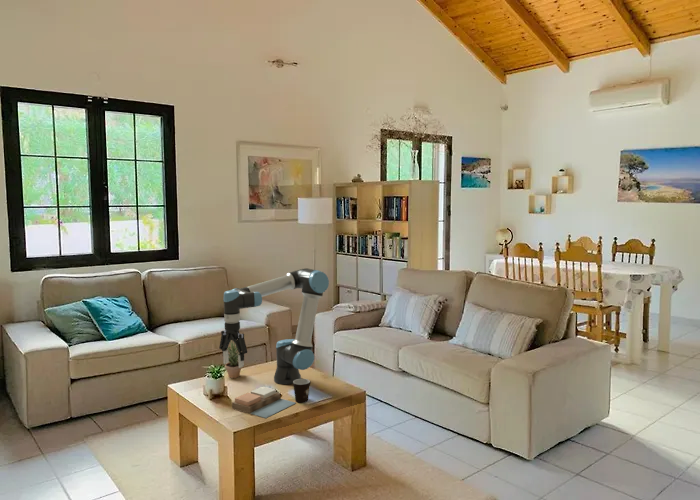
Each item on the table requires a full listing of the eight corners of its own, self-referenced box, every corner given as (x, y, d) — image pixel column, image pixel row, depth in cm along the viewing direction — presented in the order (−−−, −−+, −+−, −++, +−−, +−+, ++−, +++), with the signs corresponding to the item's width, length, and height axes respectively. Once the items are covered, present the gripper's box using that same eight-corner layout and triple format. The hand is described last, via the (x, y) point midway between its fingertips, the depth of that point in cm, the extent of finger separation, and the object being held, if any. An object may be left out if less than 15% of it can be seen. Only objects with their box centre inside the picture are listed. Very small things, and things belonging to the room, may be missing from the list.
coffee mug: (298, 405, 271) (298, 385, 270) (290, 400, 278) (289, 381, 277) (318, 399, 278) (318, 380, 277) (309, 394, 285) (309, 376, 284)
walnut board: (263, 394, 286) (263, 388, 285) (280, 399, 279) (280, 393, 279) (232, 408, 268) (231, 402, 267) (249, 413, 261) (249, 407, 261)
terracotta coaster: (248, 396, 275) (247, 392, 275) (261, 400, 270) (260, 396, 270) (234, 402, 268) (234, 398, 267) (247, 406, 263) (247, 402, 262)
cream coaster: (263, 389, 284) (263, 386, 284) (275, 393, 279) (275, 389, 279) (250, 395, 277) (250, 391, 276) (263, 398, 272) (263, 395, 271)
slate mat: (281, 399, 279) (281, 398, 279) (296, 403, 273) (296, 402, 273) (250, 413, 261) (250, 413, 261) (265, 418, 255) (265, 417, 255)
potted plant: (233, 380, 308) (231, 337, 305) (222, 377, 314) (220, 335, 311) (246, 375, 316) (245, 334, 313) (235, 372, 322) (234, 331, 319)
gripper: (210, 320, 273) (212, 363, 276) (243, 326, 261) (244, 371, 263) (222, 317, 279) (223, 359, 282) (254, 323, 267) (255, 366, 269)
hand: (233, 365), depth 272 cm, fingers open, 10 cm apart
